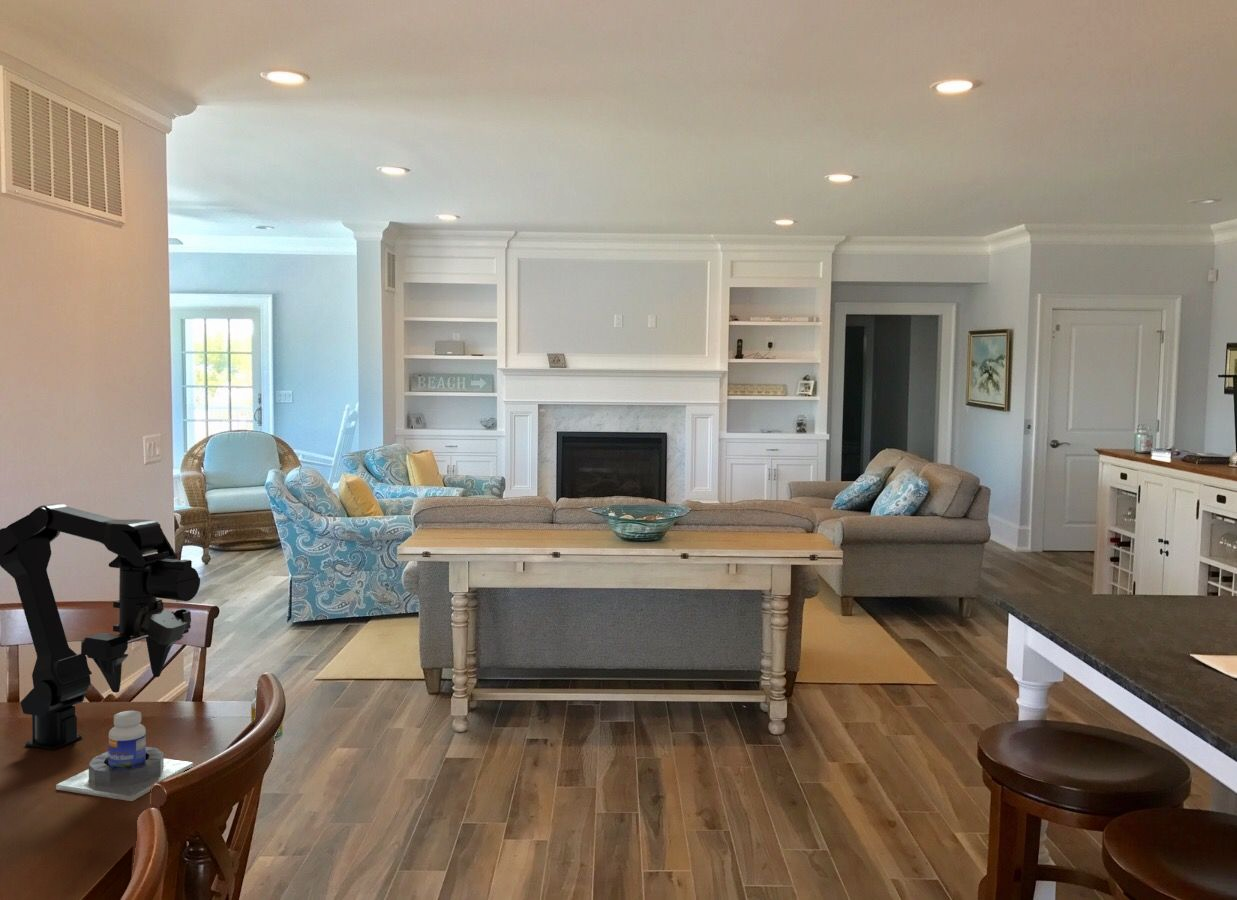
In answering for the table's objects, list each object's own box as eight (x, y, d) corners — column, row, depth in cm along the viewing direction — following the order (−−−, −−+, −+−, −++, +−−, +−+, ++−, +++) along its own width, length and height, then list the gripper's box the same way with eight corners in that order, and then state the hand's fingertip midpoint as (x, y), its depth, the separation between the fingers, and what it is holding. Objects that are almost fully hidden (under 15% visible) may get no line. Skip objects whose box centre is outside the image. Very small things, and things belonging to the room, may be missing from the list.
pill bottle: (101, 779, 154) (101, 719, 153) (119, 765, 159) (119, 708, 158) (134, 780, 154) (134, 720, 153) (152, 767, 159) (152, 709, 158)
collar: (56, 789, 151) (56, 769, 151) (122, 757, 165) (122, 738, 164) (132, 801, 148) (132, 781, 148) (192, 767, 161) (192, 748, 161)
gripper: (135, 611, 153) (133, 707, 154) (215, 589, 171) (213, 675, 172) (78, 604, 156) (77, 698, 157) (163, 582, 174) (161, 667, 175)
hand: (136, 684), depth 165 cm, fingers open, 9 cm apart
